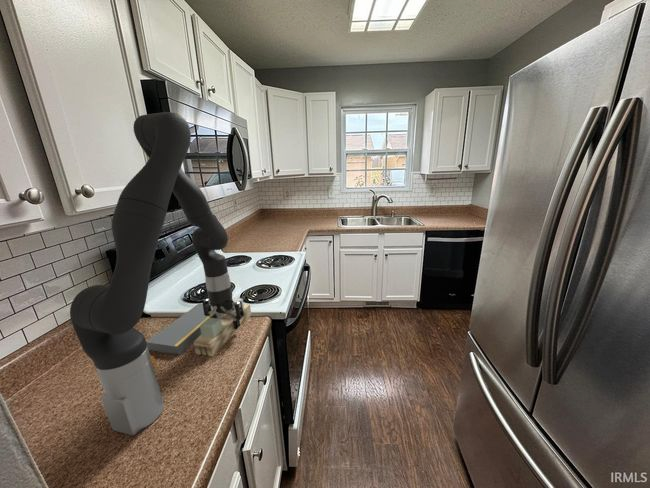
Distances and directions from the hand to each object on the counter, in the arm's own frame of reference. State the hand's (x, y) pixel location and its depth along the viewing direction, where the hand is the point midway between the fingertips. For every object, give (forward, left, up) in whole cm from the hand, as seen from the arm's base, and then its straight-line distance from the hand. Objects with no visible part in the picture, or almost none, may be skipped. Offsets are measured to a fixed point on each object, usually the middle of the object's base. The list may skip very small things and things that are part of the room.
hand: (226, 327), depth 92 cm
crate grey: (+7, 0, +3) cm, 7 cm away
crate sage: (-7, 0, +3) cm, 7 cm away
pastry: (-22, +13, -2) cm, 25 cm away
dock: (-1, +14, -2) cm, 14 cm away
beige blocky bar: (0, 0, -2) cm, 2 cm away
